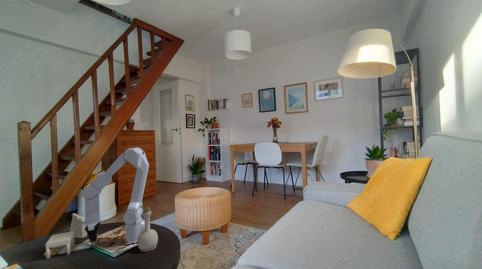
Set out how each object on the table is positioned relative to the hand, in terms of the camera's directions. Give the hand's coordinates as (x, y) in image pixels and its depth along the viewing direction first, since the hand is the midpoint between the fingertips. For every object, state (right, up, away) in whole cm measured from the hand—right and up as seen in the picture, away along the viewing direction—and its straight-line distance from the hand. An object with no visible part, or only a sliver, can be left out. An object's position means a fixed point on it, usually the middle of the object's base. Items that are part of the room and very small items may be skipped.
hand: (93, 240), depth 105 cm
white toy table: (-11, -2, -6) cm, 12 cm away
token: (-13, -3, -7) cm, 15 cm away
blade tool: (-5, -2, -3) cm, 6 cm away
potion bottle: (+27, -1, -5) cm, 28 cm away
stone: (-14, -3, +11) cm, 18 cm away
